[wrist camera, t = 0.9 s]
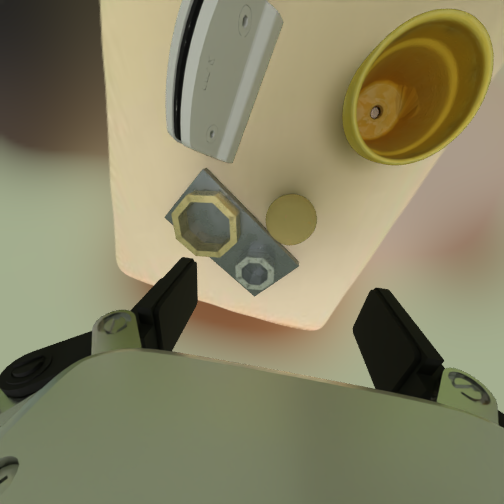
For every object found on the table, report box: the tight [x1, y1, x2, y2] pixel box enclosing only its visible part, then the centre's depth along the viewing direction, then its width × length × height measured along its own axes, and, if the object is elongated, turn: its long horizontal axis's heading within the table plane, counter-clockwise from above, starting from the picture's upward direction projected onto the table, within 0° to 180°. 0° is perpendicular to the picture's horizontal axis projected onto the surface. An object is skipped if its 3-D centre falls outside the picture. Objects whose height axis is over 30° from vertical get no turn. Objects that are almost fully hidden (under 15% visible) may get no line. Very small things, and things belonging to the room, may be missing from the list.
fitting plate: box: [164, 168, 299, 296], centre depth 34 cm, size 11×22×4 cm, turn 45°
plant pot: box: [342, 9, 493, 165], centre depth 21 cm, size 10×10×10 cm
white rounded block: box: [166, 0, 283, 163], centre depth 23 cm, size 17×5×10 cm, turn 156°
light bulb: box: [266, 194, 317, 245], centre depth 28 cm, size 6×6×10 cm
